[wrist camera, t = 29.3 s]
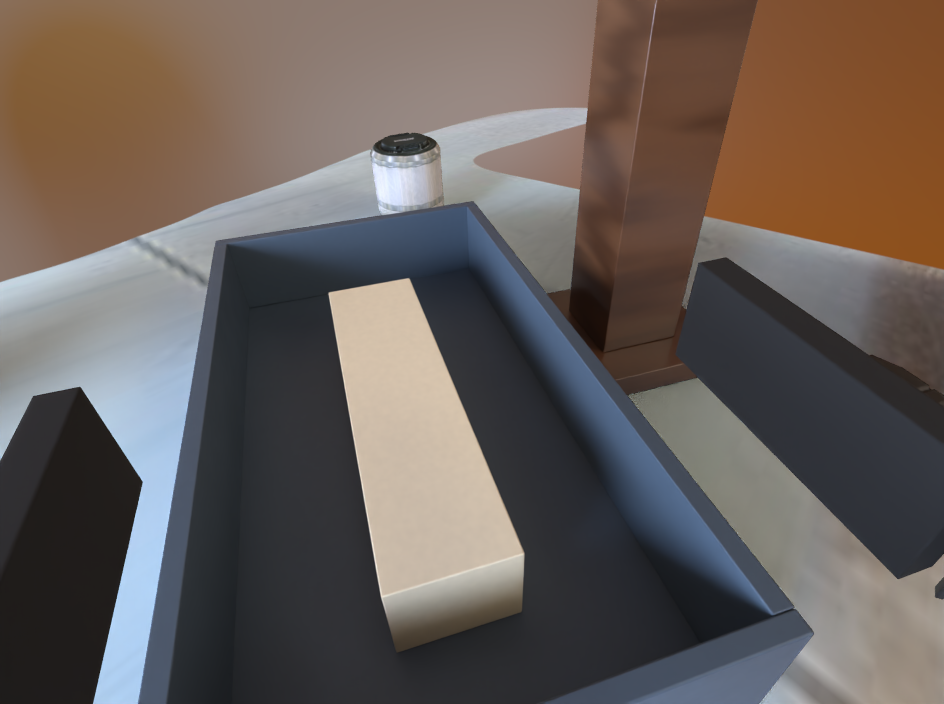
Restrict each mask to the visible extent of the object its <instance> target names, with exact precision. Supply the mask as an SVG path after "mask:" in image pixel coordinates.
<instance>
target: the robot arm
mask: <svg viewBox="0 0 944 704" xmlns="http://www.w3.org/2000/svg"><path fill="white" fill-rule="evenodd" d="M675 355H676V356H677V357H678V358H679V359H680V360H681V361H682V362H683V363H684V364H685V365H686V366H687V367H688V368H689V369H690V370H691V371H692V372H693V373H694V374H695V375H696V376H697V377H698V378H699V379H700V380H701V381H702V382H703V383H704V384H705V385H706V386H707V387H708V388H709V389H710V390H711V391H712V392H713V393H714V394H715V395H716V396H717V397H718V398H719V399H720V400H721V401H722V402H723V403H724V404H725V405H726V406H727V407H728V408H729V409H730V410H731V411H732V412H733V413H734V414H735V415H736V416H737V417H738V418H739V419H740V420H741V421H742V422H743V423H744V424H745V425H746V426H747V427H748V428H749V430H750V431H751V432H752V433H753V434H754V435H755V436H756V437H757V438H758V439H759V440H760V441H761V442H762V443H763V444H764V445H765V446H766V447H767V448H768V449H769V450H770V451H771V452H772V453H773V454H774V455H775V456H776V457H777V458H778V459H779V460H780V461H781V462H782V463H783V464H784V465H785V466H786V467H787V468H788V469H789V470H790V471H791V472H792V473H793V474H794V475H795V476H796V477H797V478H798V479H799V480H800V481H801V482H802V483H803V484H804V485H805V486H806V487H807V488H808V489H809V490H810V491H811V492H812V493H813V494H814V495H815V496H816V497H817V498H818V499H819V500H820V501H821V502H822V503H823V504H824V505H825V506H826V507H827V508H828V509H829V510H830V511H831V512H832V513H833V514H834V515H835V516H836V517H837V518H838V519H839V520H840V521H841V522H842V523H843V524H844V525H845V526H846V527H847V528H848V529H849V530H850V531H851V532H852V533H853V534H854V535H855V536H856V537H857V538H858V539H859V540H860V541H861V542H862V543H863V544H864V545H865V546H866V547H867V548H868V549H869V550H870V551H871V552H872V553H873V554H874V555H875V557H876V558H877V559H878V560H879V561H880V562H881V563H882V564H883V565H884V566H885V567H886V568H887V569H888V570H889V571H890V572H891V573H892V574H893V575H894V576H895V577H896V578H897V579H900V578H903V577H905V576H908V575H911V574H913V573H916V572H918V571H921V570H924V569H926V568H929V567H932V566H933V565H934V564H935V563H936V562H937V561H938V559H939V558H940V557H941V556H942V555H943V554H944V395H942V394H941V393H939V392H938V391H936V390H935V389H933V390H931V389H930V388H929V385H928V384H926V383H925V382H923V381H922V380H920V379H919V378H917V377H916V376H914V375H913V374H911V373H910V372H908V371H907V370H905V369H904V368H902V367H899V366H897V365H895V364H892V363H890V362H888V361H885V360H883V359H881V358H878V357H876V356H874V355H868V354H866V353H865V352H863V351H862V350H861V349H859V348H858V347H856V346H855V345H853V344H852V343H850V342H849V341H847V340H846V339H845V338H843V337H842V336H840V335H839V334H837V333H836V332H834V331H833V330H831V329H830V328H829V327H827V326H826V325H824V324H823V323H821V322H820V321H818V320H817V319H815V318H814V317H812V316H811V315H810V314H808V313H807V312H805V311H804V310H802V309H801V308H799V307H798V306H796V305H795V304H794V303H792V302H791V301H789V300H788V299H786V298H785V297H783V296H782V295H780V294H779V293H777V292H776V291H775V290H773V289H772V288H770V287H769V286H767V285H766V284H764V283H763V282H761V281H760V280H759V279H757V278H756V277H754V276H753V275H751V274H750V273H748V272H747V271H745V270H744V269H743V268H741V267H740V266H738V265H737V264H735V263H734V262H732V261H731V260H729V259H728V258H721V259H716V260H711V261H706V262H701V263H698V267H697V271H696V275H695V279H694V283H693V287H692V291H691V295H690V298H689V302H688V306H687V310H686V314H685V318H684V322H683V326H682V330H681V334H680V338H679V341H678V345H677V349H676V353H675ZM142 483H143V482H142V480H141V479H140V477H139V476H138V474H137V473H136V471H135V470H134V468H133V466H132V465H131V463H130V462H129V460H128V459H127V457H126V456H125V454H124V453H123V451H122V450H121V448H120V447H119V445H118V444H117V442H116V441H115V439H114V437H113V436H112V434H111V433H110V431H109V430H108V428H107V427H106V425H105V424H104V422H103V421H102V419H101V418H100V416H99V415H98V413H97V412H96V410H95V409H94V407H93V405H92V404H91V402H90V401H89V399H88V398H87V396H86V395H85V393H84V392H83V390H82V389H81V387H77V388H72V389H67V390H62V391H57V392H52V393H47V394H42V395H37V396H33V398H32V400H31V402H30V404H29V406H28V407H27V409H26V411H25V413H24V415H23V417H22V419H21V421H20V423H19V425H18V427H17V429H16V431H15V433H14V435H13V437H12V439H11V441H10V443H9V445H8V447H7V449H6V451H5V453H4V455H3V457H2V459H1V461H0V704H93V701H94V697H95V692H96V688H97V683H98V679H99V674H100V670H101V665H102V661H103V657H104V652H105V648H106V643H107V639H108V634H109V630H110V625H111V621H112V616H113V612H114V608H115V603H116V599H117V594H118V590H119V585H120V581H121V576H122V572H123V567H124V563H125V559H126V554H127V550H128V545H129V541H130V536H131V532H132V527H133V523H134V518H135V514H136V510H137V505H138V501H139V496H140V492H141V487H142ZM935 597H936V598H939V599H944V577H943V578H942V579H941V581H940V582H939V583H938V584H937V585H936V586H935Z"/></svg>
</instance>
